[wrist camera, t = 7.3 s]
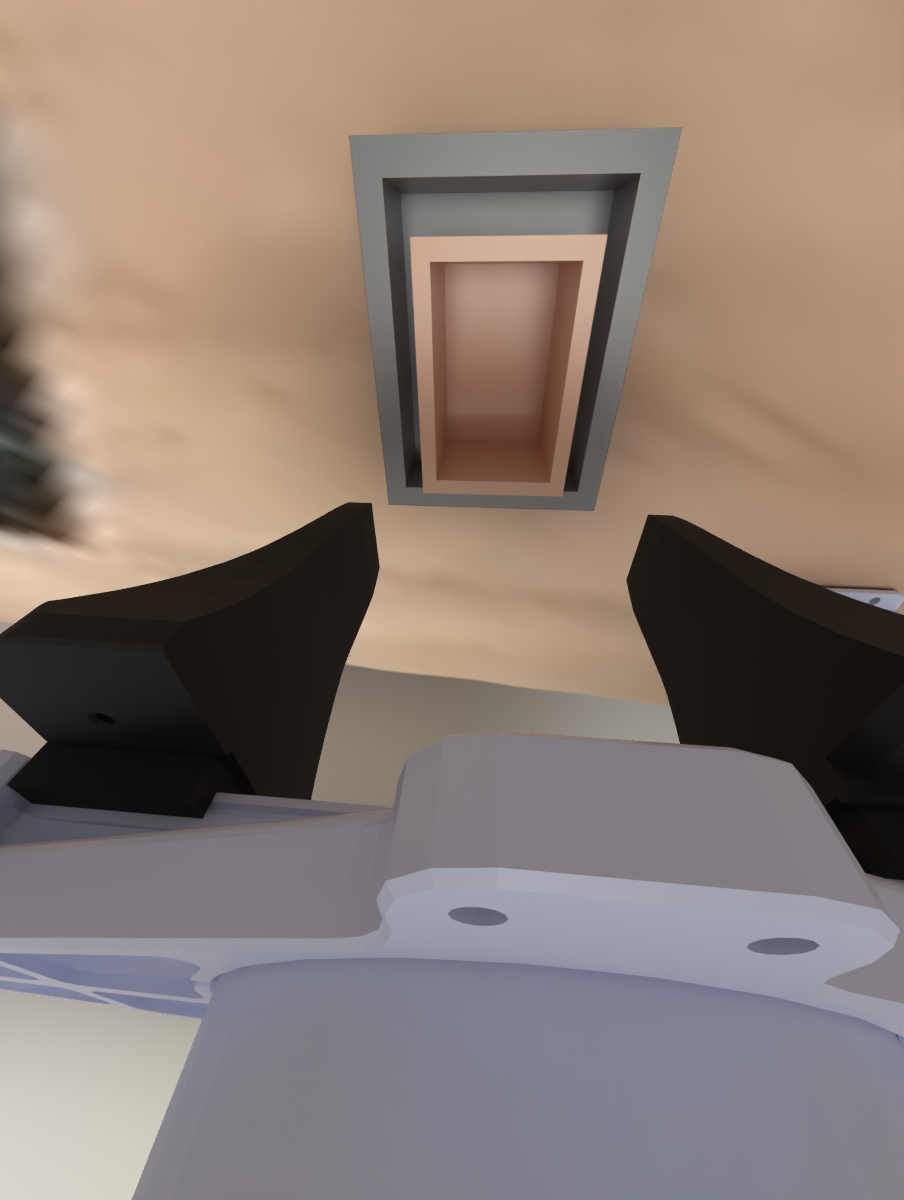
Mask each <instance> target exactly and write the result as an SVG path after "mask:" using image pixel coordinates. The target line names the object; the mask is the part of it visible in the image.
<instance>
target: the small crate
mask: <svg viewBox="0 0 904 1200" xmlns="http://www.w3.org/2000/svg"><path fill="white" fill-rule="evenodd" d="M607 236H608V234H605V235H524V236H443V237H410V249H411V268H412V287H413V306H414V326H415V345H416V364H417V383H418V402H419V422H420V441H421V460H422V479H423V493H437V494H476V495H514V496H552V497H562V496H563V490H564V485H565V479H566V473H567V467H568V461H569V456H570V450H571V444H572V438H573V432H574V427H575V421H576V415H577V409H578V404H579V398H580V392H581V386H582V380H583V375H584V369H585V363H586V357H587V351H588V346H589V340H590V334H591V328H592V323H593V317H594V311H595V305H596V299H597V294H598V288H599V282H600V276H601V270H602V265H603V259H604V253H605V247H606V242H607Z"/></svg>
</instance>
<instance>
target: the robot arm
mask: <svg viewBox="0 0 904 1200" xmlns="http://www.w3.org/2000/svg"><path fill="white" fill-rule="evenodd" d="M379 568H380V567H379V559H378V551H377V543H376V535H375V527H374V519H373V511H372V503H353V502H349V503H346V504H344V505H341V506H339V507H337V508H336V509H334V510H332V511H330V512H328V513H326V514H325V515H323V516H321V517H319V518H318V519H316V520H314V521H312V522H311V523H309V524H307V525H305V526H303V527H302V528H300V529H298V530H296V531H294V532H292V533H290V534H288V535H286V536H284V537H282V538H280V539H278V540H276V541H274V542H272V543H270V544H268V545H266V546H264V547H262V548H260V549H257V550H255V551H253V552H250V553H248V554H245V555H242V556H240V557H237V558H235V559H232V560H230V561H227V562H224V563H221V564H218V565H214V566H211V567H208V568H205V569H202V570H198V571H195V572H192V573H189V574H185V575H182V576H178V577H174V578H170V579H166V580H162V581H158V582H154V583H149V584H145V585H140V586H136V587H131V588H126V589H121V590H116V591H110V592H104V593H98V594H92V595H86V596H79V597H73V598H67V599H60V600H53V601H48V602H45V603H43V604H41V605H40V606H38V607H37V608H35V609H34V610H33V611H31V612H30V613H29V614H27V615H26V616H24V617H23V618H22V619H20V620H19V621H18V622H16V623H15V624H14V625H12V626H11V627H9V628H8V629H7V630H5V631H4V632H2V633H1V634H0V698H1V699H2V700H3V701H4V702H5V703H6V704H7V705H9V706H10V707H11V708H12V709H13V710H14V711H15V712H16V713H17V714H18V715H19V716H21V718H22V719H23V720H25V721H26V722H27V723H28V724H29V725H30V726H31V727H32V728H33V729H34V730H35V731H36V732H37V733H38V734H39V735H41V736H42V737H43V738H44V739H45V740H46V741H48V742H47V743H46V744H45V745H44V746H43V747H42V748H41V749H40V750H39V751H38V752H37V753H36V754H35V755H34V756H33V758H32V759H31V758H30V757H28V756H25V755H23V754H20V753H18V752H13V751H8V750H0V990H5V991H11V992H19V993H26V994H32V995H40V996H46V997H53V998H60V999H66V1000H74V1001H80V1002H87V1003H93V1004H100V1005H106V1006H113V1007H120V1008H126V1009H133V1010H140V1011H147V1012H153V1013H159V1014H166V1015H173V1016H179V1017H186V1018H192V1019H199V1020H202V1021H201V1024H200V1027H199V1029H198V1032H197V1034H196V1037H195V1039H194V1042H193V1044H192V1047H191V1050H190V1052H189V1055H188V1057H187V1060H186V1062H185V1065H184V1068H183V1070H182V1073H181V1075H180V1078H179V1080H178V1083H177V1085H176V1088H175V1091H174V1093H173V1096H172V1098H171V1101H170V1103H169V1106H168V1108H167V1111H166V1114H165V1116H164V1119H163V1121H162V1124H161V1127H160V1129H159V1132H158V1134H157V1137H156V1139H155V1142H154V1144H153V1147H152V1149H151V1152H150V1155H149V1157H148V1160H147V1162H146V1165H145V1167H144V1170H143V1172H142V1175H141V1178H140V1180H139V1183H138V1186H137V1188H136V1191H135V1193H134V1196H133V1198H132V1200H904V615H902V614H899V613H898V612H897V611H896V610H897V609H898V608H899V606H900V605H901V604H902V603H903V602H904V595H903V594H901V593H900V592H899V591H891V590H865V589H840V588H824V587H821V586H819V585H816V584H814V583H811V582H809V581H806V580H804V579H801V578H799V577H797V576H794V575H792V574H790V573H788V572H785V571H783V570H781V569H779V568H777V567H775V566H773V565H771V564H769V563H767V562H765V561H762V560H760V559H758V558H756V557H754V556H752V555H751V554H749V553H747V552H745V551H743V550H741V549H739V548H737V547H735V546H733V545H731V544H730V543H728V542H726V541H724V540H722V539H720V538H718V537H717V536H715V535H713V534H711V533H709V532H707V531H705V530H704V529H702V528H700V527H698V526H696V525H694V524H692V523H690V522H688V521H685V520H683V519H681V518H678V517H675V516H667V515H648V517H647V520H646V523H645V526H644V529H643V532H642V535H641V538H640V541H639V544H638V547H637V550H636V553H635V556H634V559H633V562H632V565H631V568H630V571H629V574H628V577H627V585H628V590H629V595H630V599H631V603H632V607H633V611H634V613H635V616H636V619H637V621H638V623H639V626H640V628H641V631H642V633H643V636H644V638H645V640H646V643H647V645H648V648H649V650H650V652H651V655H652V657H653V660H654V662H655V664H656V667H657V669H658V671H659V674H660V676H661V679H662V682H663V684H664V687H665V690H666V693H667V696H668V700H669V703H670V707H671V710H672V714H673V718H674V721H675V725H676V729H677V733H678V737H679V741H680V744H673V743H659V742H644V741H630V740H618V739H604V738H603V739H602V738H590V737H576V736H562V735H548V734H533V733H521V732H506V731H487V732H476V733H463V734H451V735H448V736H446V737H444V738H442V739H440V740H438V741H436V742H434V743H432V744H430V745H428V746H426V747H424V748H422V749H420V750H418V751H416V752H414V753H413V754H411V755H409V756H408V757H407V759H406V762H405V765H404V767H403V770H402V772H401V775H400V777H399V780H398V785H397V791H396V796H395V801H394V806H393V807H387V806H374V805H362V804H351V803H339V802H327V801H315V800H311V796H312V791H313V787H314V782H315V777H316V773H317V768H318V764H319V760H320V755H321V751H322V747H323V743H324V738H325V734H326V730H327V726H328V722H329V719H330V715H331V711H332V707H333V703H334V699H335V696H336V692H337V689H338V685H339V681H340V678H341V674H342V671H343V668H344V666H345V663H346V660H347V657H348V655H349V652H350V650H351V648H352V645H353V643H354V640H355V638H356V636H357V633H358V631H359V628H360V626H361V624H362V621H363V619H364V616H365V614H366V612H367V609H368V607H369V604H370V602H371V599H372V597H373V593H374V589H375V585H376V581H377V576H378V572H379Z"/></svg>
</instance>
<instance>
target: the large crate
mask: <svg viewBox="0 0 904 1200" xmlns="http://www.w3.org/2000/svg"><path fill="white" fill-rule="evenodd" d="M681 131H682V127H672V128H633V129H594V130H555V131H516V132H477V133H438V134H399V135H360V136H349V140H350V149H351V158H352V168H353V177H354V186H355V196H356V205H357V214H358V223H359V233H360V242H361V251H362V260H363V270H364V279H365V288H366V298H367V307H368V316H369V325H370V335H371V344H372V353H373V362H374V372H375V381H376V390H377V400H378V409H379V418H380V427H381V437H382V446H383V455H384V464H385V474H386V483H387V492H388V502H389V505H414V506H448V507H482V508H516V509H550V510H584V511H594V508H595V504H596V499H597V495H598V491H599V486H600V482H601V478H602V473H603V469H604V465H605V460H606V456H607V452H608V447H609V443H610V439H611V434H612V430H613V426H614V421H615V417H616V413H617V408H618V404H619V400H620V395H621V391H622V386H623V382H624V378H625V373H626V369H627V365H628V360H629V356H630V352H631V347H632V343H633V339H634V334H635V330H636V326H637V321H638V317H639V313H640V308H641V304H642V300H643V295H644V291H645V287H646V282H647V278H648V274H649V269H650V265H651V261H652V256H653V252H654V248H655V243H656V239H657V235H658V230H659V226H660V222H661V217H662V213H663V209H664V204H665V200H666V196H667V191H668V187H669V183H670V178H671V174H672V170H673V165H674V161H675V157H676V152H677V148H678V144H679V139H680V135H681ZM605 234H608V236H607V242H606V247H605V253H604V259H603V265H602V270H601V276H600V282H599V288H598V294H597V299H596V305H595V311H594V317H593V323H592V328H591V334H590V340H589V346H588V351H587V357H586V363H585V369H584V375H583V380H582V386H581V392H580V398H579V404H578V409H577V415H576V421H575V427H574V432H573V438H572V444H571V450H570V456H569V461H568V467H567V473H566V479H565V485H564V490H563V496H562V497H552V496H514V495H476V494H437V493H423V479H422V460H421V441H420V422H419V402H418V383H417V364H416V345H415V326H414V306H413V287H412V268H411V249H410V237H443V236H524V235H605Z"/></svg>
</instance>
